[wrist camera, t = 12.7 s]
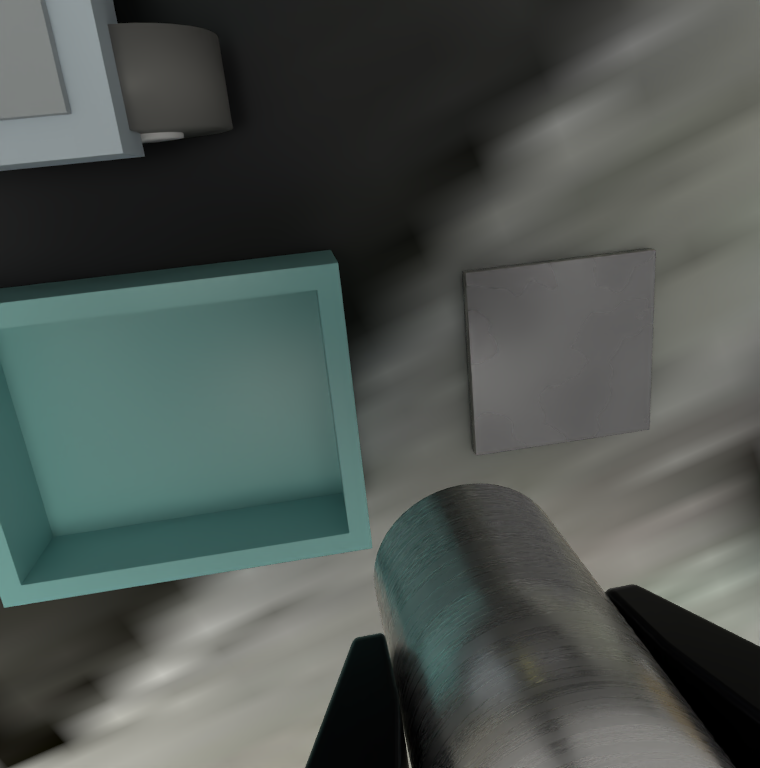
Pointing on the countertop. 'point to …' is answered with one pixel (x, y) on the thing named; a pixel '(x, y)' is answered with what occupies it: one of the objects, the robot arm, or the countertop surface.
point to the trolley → (101, 83)
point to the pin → (519, 647)
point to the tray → (175, 426)
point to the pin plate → (559, 349)
